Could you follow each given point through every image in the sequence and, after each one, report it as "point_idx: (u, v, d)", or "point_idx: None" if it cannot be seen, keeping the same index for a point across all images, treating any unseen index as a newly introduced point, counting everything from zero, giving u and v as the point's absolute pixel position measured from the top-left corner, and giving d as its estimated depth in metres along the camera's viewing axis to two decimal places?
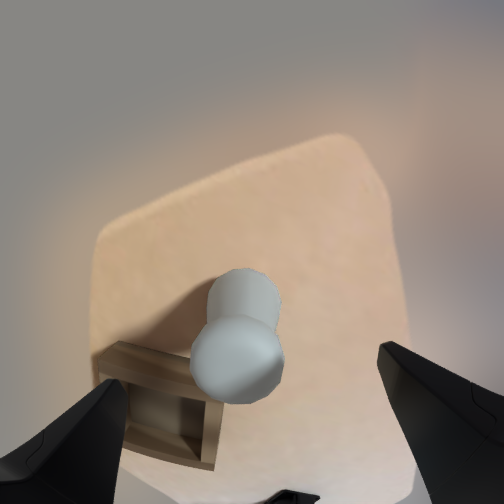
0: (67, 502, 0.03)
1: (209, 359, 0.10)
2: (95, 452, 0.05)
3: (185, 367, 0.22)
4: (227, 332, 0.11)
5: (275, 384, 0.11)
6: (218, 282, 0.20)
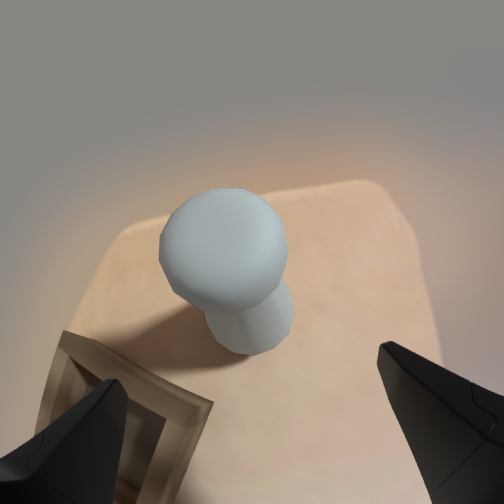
0: (67, 502, 0.03)
1: (190, 208, 0.09)
2: (95, 452, 0.05)
3: (157, 381, 0.16)
4: (222, 188, 0.09)
5: (268, 264, 0.08)
6: None
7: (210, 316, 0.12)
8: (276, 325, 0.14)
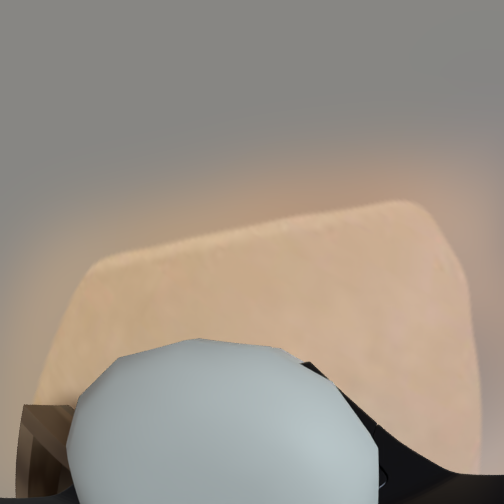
0: None
1: (109, 434, 0.02)
2: None
3: None
4: (202, 359, 0.03)
5: None
6: None
7: None
8: None
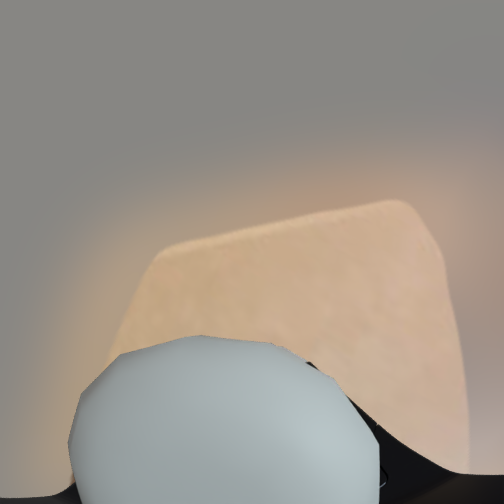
0: None
1: (110, 429, 0.02)
2: None
3: None
4: (204, 355, 0.03)
5: None
6: None
7: None
8: None
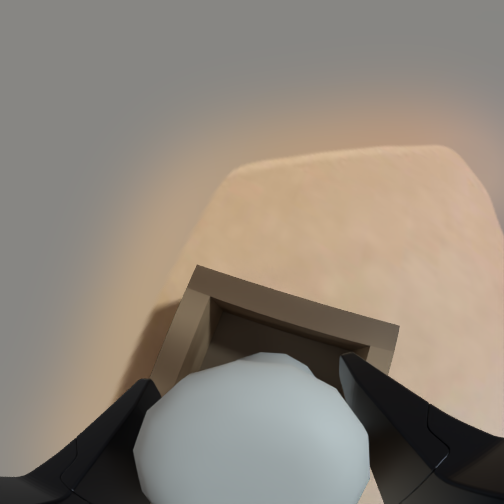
0: None
1: (184, 436, 0.03)
2: (131, 459, 0.05)
3: None
4: (250, 378, 0.04)
5: None
6: None
7: None
8: None
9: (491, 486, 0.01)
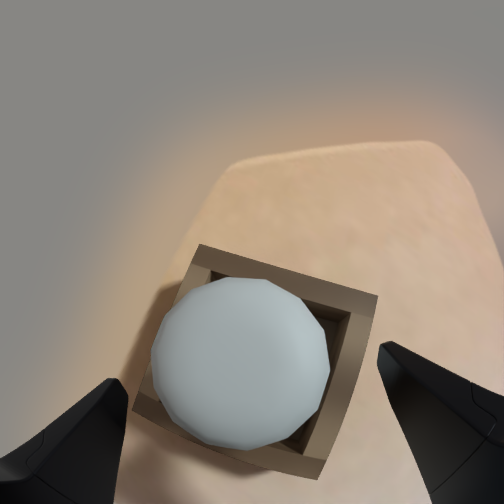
0: (67, 502, 0.03)
1: (191, 322, 0.06)
2: (95, 452, 0.05)
3: None
4: (237, 282, 0.06)
5: (309, 407, 0.05)
6: None
7: None
8: None
9: None
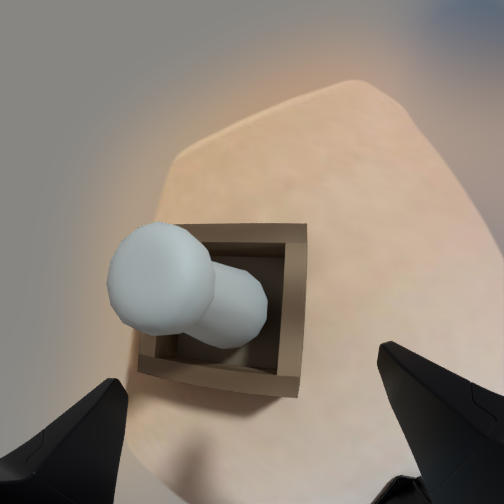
0: (67, 502, 0.03)
1: (119, 256, 0.09)
2: (95, 452, 0.05)
3: None
4: (142, 227, 0.10)
5: (189, 288, 0.09)
6: None
7: None
8: (245, 318, 0.15)
9: None
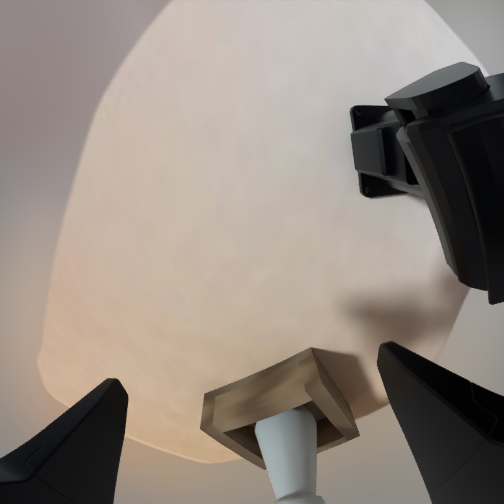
0: (67, 503, 0.03)
1: None
2: (95, 452, 0.05)
3: None
4: None
5: None
6: None
7: (315, 469, 0.16)
8: (287, 442, 0.18)
9: None
